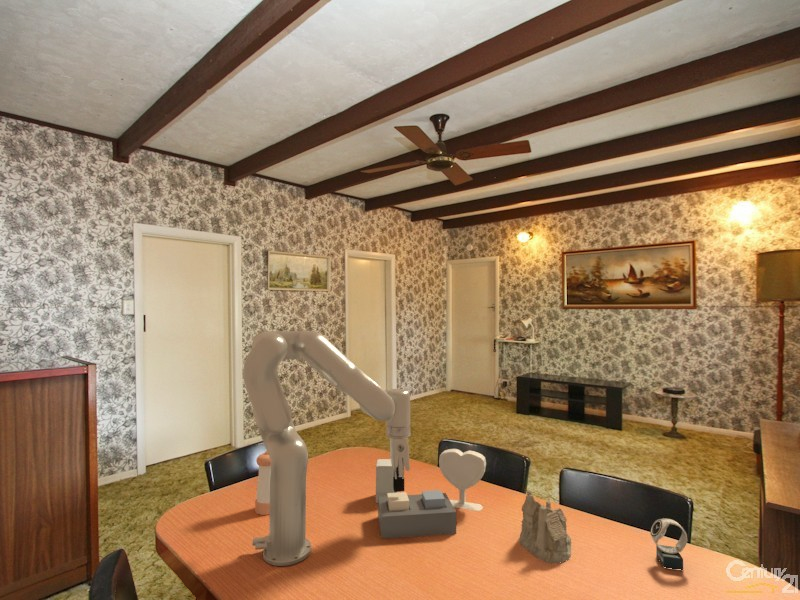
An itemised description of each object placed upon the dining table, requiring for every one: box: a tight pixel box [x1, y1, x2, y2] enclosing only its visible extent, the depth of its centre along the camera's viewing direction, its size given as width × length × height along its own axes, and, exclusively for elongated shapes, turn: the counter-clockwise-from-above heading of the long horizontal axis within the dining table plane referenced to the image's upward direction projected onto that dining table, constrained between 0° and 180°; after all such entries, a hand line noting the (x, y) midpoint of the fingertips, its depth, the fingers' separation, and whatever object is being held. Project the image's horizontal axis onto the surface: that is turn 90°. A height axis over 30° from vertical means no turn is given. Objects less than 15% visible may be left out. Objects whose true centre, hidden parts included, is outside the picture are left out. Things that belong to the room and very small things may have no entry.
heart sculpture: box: [438, 448, 487, 512], centre depth 141 cm, size 16×5×18 cm, turn 70°
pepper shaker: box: [254, 450, 271, 516], centre depth 137 cm, size 7×7×19 cm
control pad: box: [377, 492, 457, 540], centre depth 127 cm, size 22×13×6 cm, turn 98°
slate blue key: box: [421, 489, 445, 509], centre depth 128 cm, size 6×6×5 cm
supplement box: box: [375, 458, 398, 504], centre depth 145 cm, size 7×7×13 cm
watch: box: [649, 518, 688, 571], centre depth 108 cm, size 6×8×11 cm
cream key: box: [387, 491, 409, 511], centre depth 127 cm, size 6×6×5 cm
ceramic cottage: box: [519, 489, 572, 565], centre depth 117 cm, size 16×16×15 cm
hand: (398, 490), depth 127 cm, fingers closed
